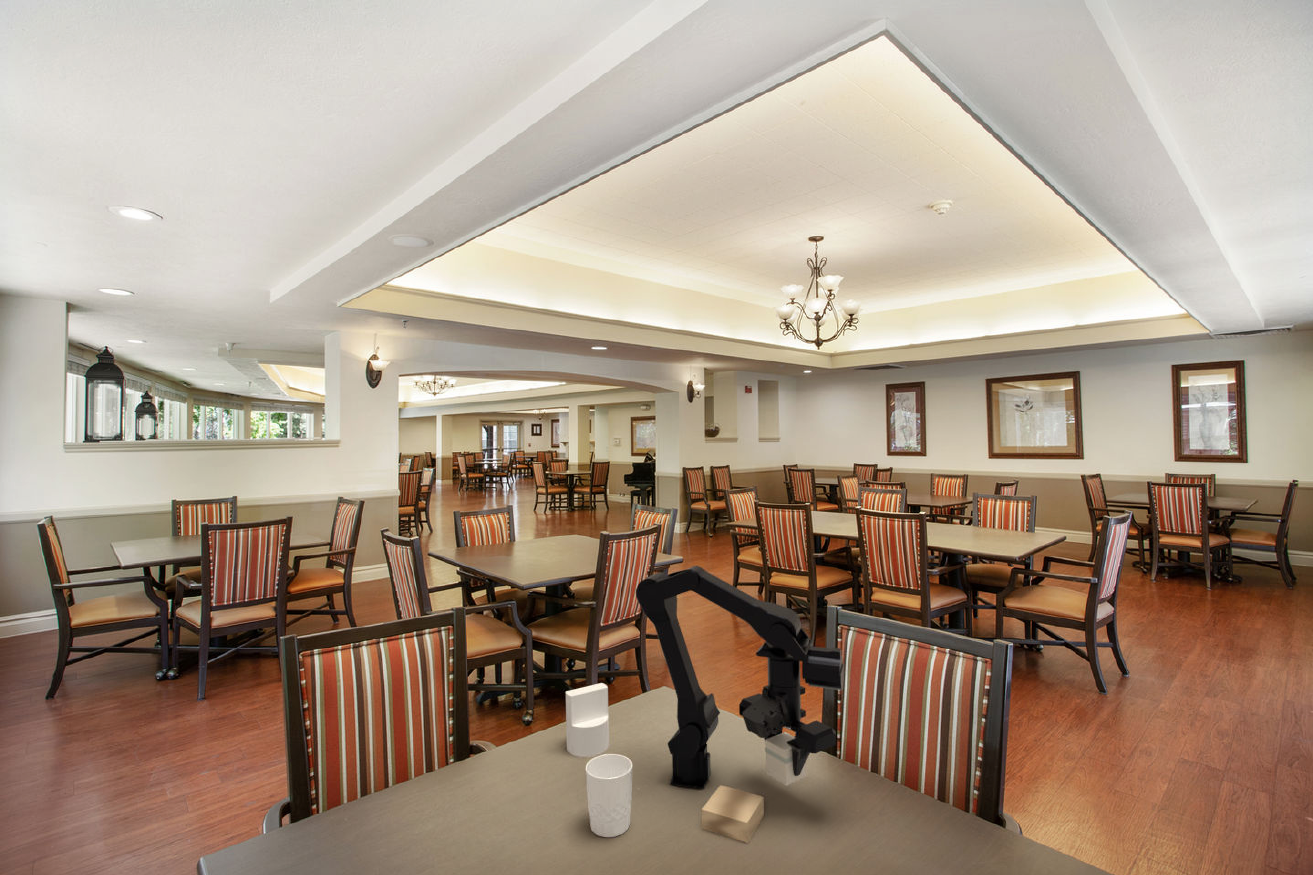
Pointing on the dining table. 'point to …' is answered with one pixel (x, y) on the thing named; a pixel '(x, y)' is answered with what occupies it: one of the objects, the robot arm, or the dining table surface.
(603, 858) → the dining table surface
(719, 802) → the oak block
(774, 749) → the white banded box
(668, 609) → the robot arm
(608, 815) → the white cup
